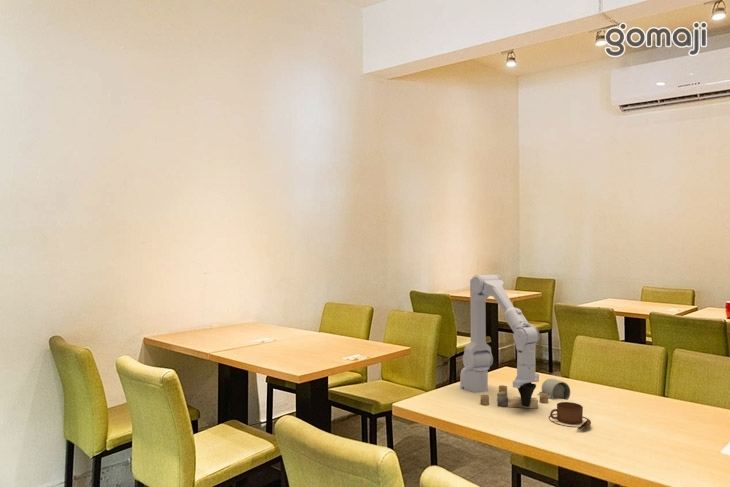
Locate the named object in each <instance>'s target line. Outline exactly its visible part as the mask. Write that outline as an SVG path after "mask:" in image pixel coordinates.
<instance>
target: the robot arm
mask: <svg viewBox="0 0 730 487" xmlns="http://www.w3.org/2000/svg"><path fill="white" fill-rule="evenodd" d="M504 286H505V282H504V280H502V277H501V276H500V275H499V274H498V273H495V274H475V275H473V276H472V277H471V279H470V280H469V291H470V292H469V293H470V294H469V295H470V297H469V298H470V341H469V343H468V344H467V345H466V346H465V347H464V348H463V350H464V352H463V356H462V363H463V365H464V367H463V368H462V369H461V371H460V376H459V377H460V379H459V380H460V382H459V389H460V390H465V391H468V392H473V393H486V392H488V382H489V381H488V380H489V378H488V377H489V374H488V373H489V372H488V371H489V370H490V367H491V366H492V365H493V363H494V362H493V361H494V357H493V354H492V347H491V346H490V345H489V344H488V343H487V341H486V340H487V336H486V335H487V333H486V332H487V331H486V330H487V327H486V326H487V325H486V324H487V323H486V322H487V321H486V320H487V319H486V314H487V313H486V311H487V310H486V309H487V308H486V304H487V303H486V301H487V299H488V298H489V297H490V296H491V297H493V299H494V300H495V301H496V303H498V305H499V306H500V308H501V309H502V311H503V312H504V320H505V321H506V323H507V324H508V326H509V327H510V329H511V330H512V332H513V335H512V337H513V340H514V343H515V349H516V356H517V357H516V358H517V359H516V376H515V379H514V380H513V381H512V387H513V388H515V389H517V390H518V393H519V397H521V403H522V406H526V407H529V406H530V402H531V398H533V397H532V396H533V393H534V392H535V389H536V388H537V384H536V383H538V382H539V380H540V374H539V373H536V352H537V350H536V347H537V345H536V344H537V343H538V342H539V341H540V339H541V338H540V331H539V330H538V327H537V326H535V325H533V324H531V323H529V322H528V320H527V319H526V316H525V315H524V314H523V312H522V311H523V310H521V309H520V308H518V307H514V305H513V303H512V301H511V299H510V298H509V296H508V294H507V292H506V290H505V287H504Z"/></svg>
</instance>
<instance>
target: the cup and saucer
mask: <svg viewBox="0 0 730 487" xmlns="http://www.w3.org/2000/svg"><path fill="white" fill-rule="evenodd" d="M583 409H584V407H583V405H581V404H579V403H576V402H571V401H561V402H557V404H556V408H553V409H552V410H551V411H550V412H549V416H548V419H549V421H550V422H551V423H553V424H555V425H559V426H562V427H567V428H576V430H577V431H578V430H585V429H586V428H589V427H590V426H591V425H592V421H591V420H590V419H589V418H587V417H585V416H584V415H583V413H584V412H583ZM554 412H556V413H554ZM551 419H553V420H558V421H559V422H560V423H557V422H554V421H553V420H551ZM583 419H585V421H584V422H583ZM561 423H562V424H561ZM565 424H567V425H565ZM579 424H581V425H580V426H578V427H577V426H573V425H579Z"/></svg>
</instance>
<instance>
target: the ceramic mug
mask: <svg viewBox="0 0 730 487" xmlns="http://www.w3.org/2000/svg"><path fill="white" fill-rule="evenodd" d="M541 384H542V385H541V391H540V392H538V393H537V396H540V393H547V394H548V400H555V399H561V400H567V401H568V400H569V399H570V397H571V387H570V385H569V384H568V383H567V382H565V381H562V380H559V379H556V378H547V379H545V380H544V381H543V382H542V383H541Z"/></svg>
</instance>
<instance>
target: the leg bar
mask: <svg viewBox="0 0 730 487" xmlns="http://www.w3.org/2000/svg"><path fill="white" fill-rule="evenodd" d="M538 400H539V399H538V398H537V397H531V402H530V406H529V407H526V406H522V403H521V396H508V395H507V396H498V401H497V406H498V407H501V408H507V407H508V408H521V409H538V408H539V401H538Z"/></svg>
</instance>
